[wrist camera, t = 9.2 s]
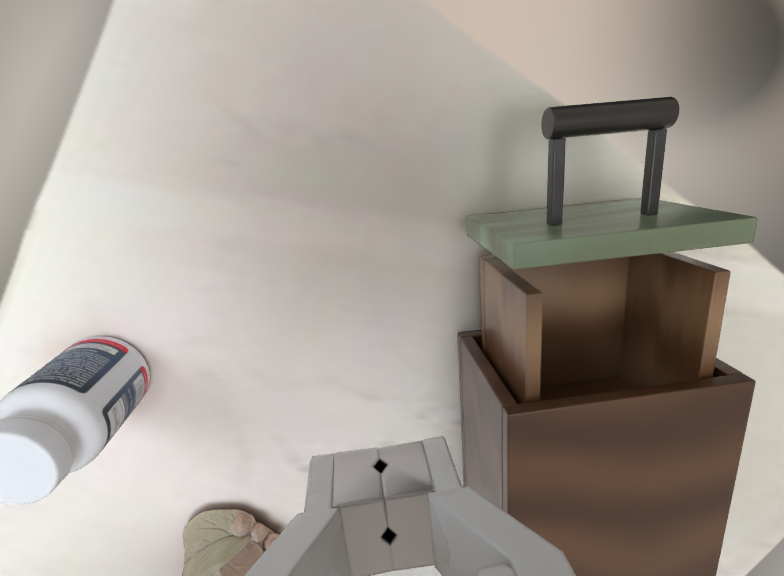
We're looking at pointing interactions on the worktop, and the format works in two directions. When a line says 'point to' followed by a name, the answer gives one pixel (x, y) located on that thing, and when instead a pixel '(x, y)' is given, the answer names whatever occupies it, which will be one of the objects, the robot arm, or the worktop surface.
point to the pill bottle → (66, 415)
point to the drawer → (603, 274)
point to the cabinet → (610, 466)
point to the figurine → (224, 543)
